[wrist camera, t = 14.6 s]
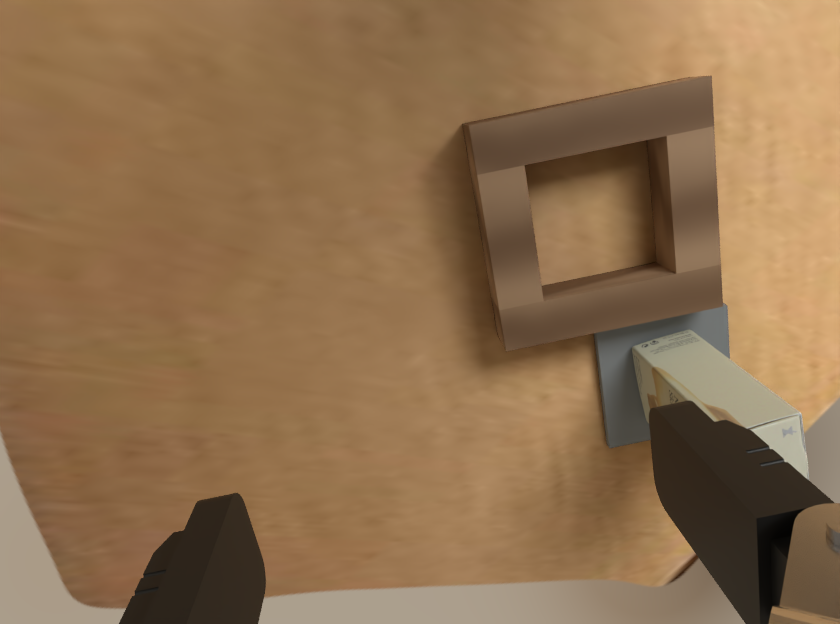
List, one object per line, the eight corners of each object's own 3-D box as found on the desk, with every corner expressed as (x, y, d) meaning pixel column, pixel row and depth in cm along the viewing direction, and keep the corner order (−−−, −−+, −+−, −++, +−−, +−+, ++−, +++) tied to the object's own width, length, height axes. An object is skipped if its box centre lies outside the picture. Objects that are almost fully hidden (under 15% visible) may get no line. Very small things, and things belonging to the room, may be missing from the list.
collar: (462, 123, 40) (469, 125, 37) (687, 77, 40) (711, 75, 37) (497, 335, 44) (506, 351, 41) (700, 293, 44) (722, 306, 41)
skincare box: (628, 344, 44) (718, 431, 33) (690, 326, 44) (803, 406, 32) (645, 425, 46) (736, 534, 35) (704, 408, 46) (816, 511, 34)
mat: (593, 329, 44) (596, 332, 44) (722, 302, 44) (727, 305, 44) (606, 444, 47) (609, 448, 47) (728, 418, 47) (732, 422, 47)
